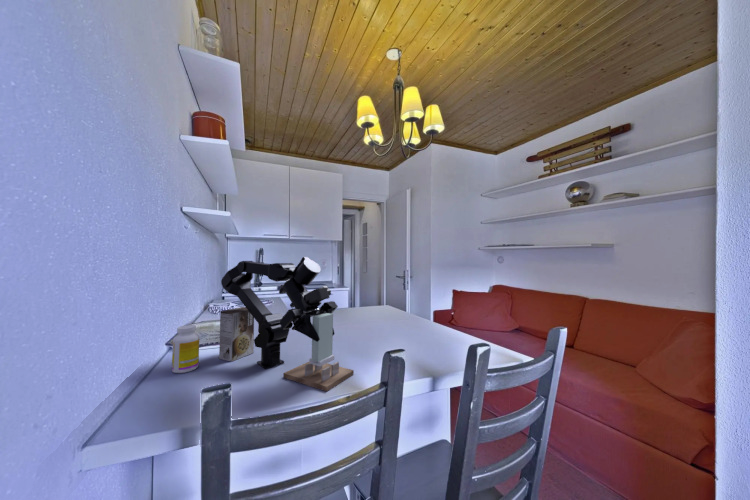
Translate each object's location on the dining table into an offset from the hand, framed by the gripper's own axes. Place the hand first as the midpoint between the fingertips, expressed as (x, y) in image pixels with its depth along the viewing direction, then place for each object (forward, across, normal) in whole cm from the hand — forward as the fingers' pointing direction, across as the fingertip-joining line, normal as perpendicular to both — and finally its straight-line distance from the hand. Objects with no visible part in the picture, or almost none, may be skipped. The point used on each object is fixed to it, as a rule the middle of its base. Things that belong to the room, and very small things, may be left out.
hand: (326, 337), depth 75 cm
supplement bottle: (-20, -16, +38) cm, 46 cm away
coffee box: (-19, -2, +36) cm, 40 cm away
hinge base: (+6, +1, +11) cm, 12 cm away
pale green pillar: (+4, 0, +6) cm, 7 cm away
